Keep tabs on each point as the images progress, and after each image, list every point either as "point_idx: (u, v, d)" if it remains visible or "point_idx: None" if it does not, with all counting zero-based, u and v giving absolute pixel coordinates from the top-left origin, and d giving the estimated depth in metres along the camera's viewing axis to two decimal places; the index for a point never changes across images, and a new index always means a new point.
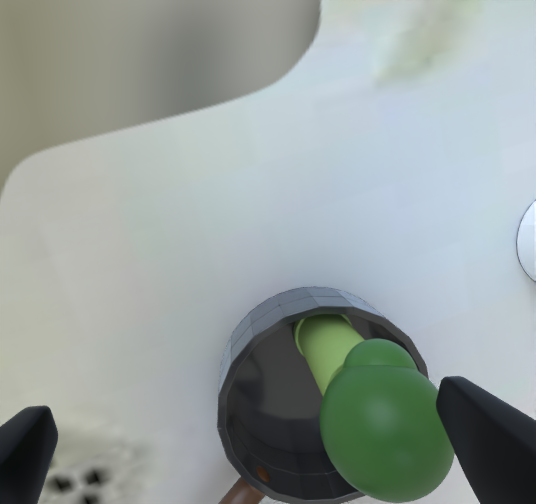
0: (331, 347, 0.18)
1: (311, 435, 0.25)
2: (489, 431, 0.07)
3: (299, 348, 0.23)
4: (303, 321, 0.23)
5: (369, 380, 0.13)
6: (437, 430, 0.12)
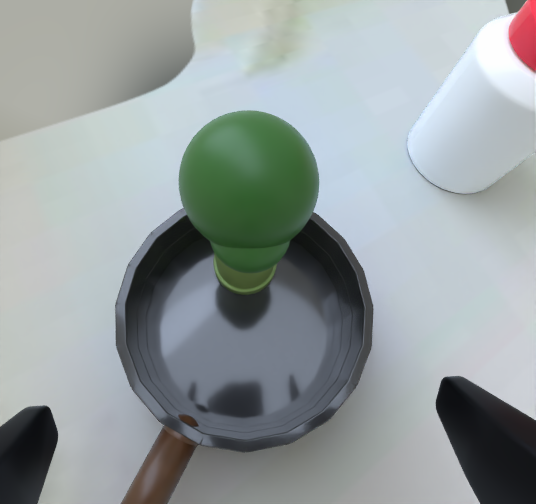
0: None
1: (262, 396, 0.20)
2: (489, 431, 0.07)
3: (221, 278, 0.21)
4: None
5: None
6: (271, 116, 0.11)
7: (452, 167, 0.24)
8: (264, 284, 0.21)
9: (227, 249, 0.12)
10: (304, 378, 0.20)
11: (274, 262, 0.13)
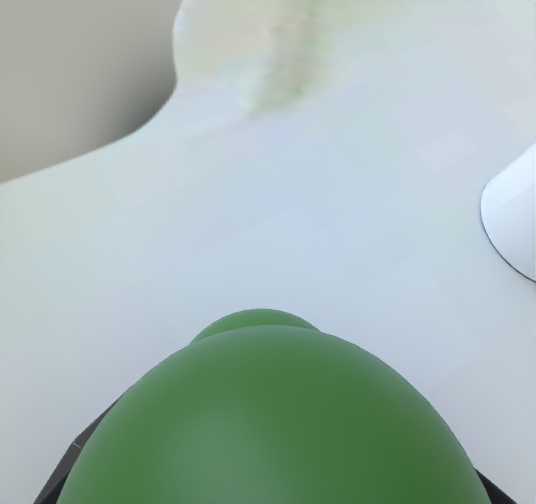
0: None
1: None
2: None
3: None
4: None
5: (165, 360, 0.04)
6: (366, 431, 0.03)
7: None
8: None
9: None
10: None
11: None
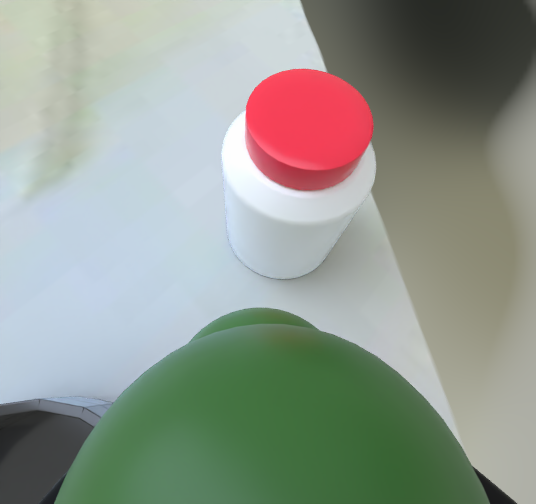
0: None
1: None
2: None
3: None
4: None
5: (163, 358, 0.04)
6: (364, 429, 0.03)
7: (267, 264, 0.21)
8: None
9: None
10: None
11: None
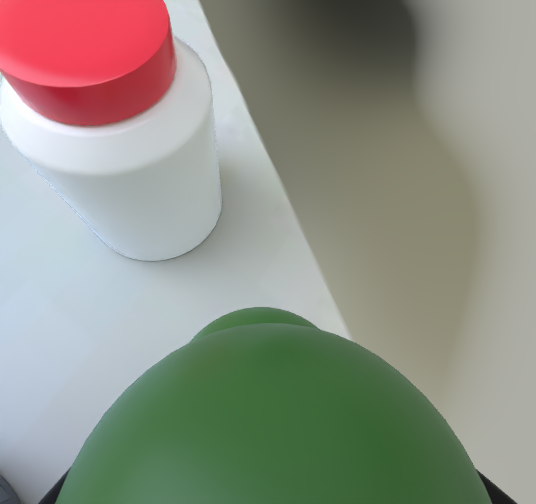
0: None
1: None
2: None
3: None
4: None
5: (165, 357, 0.04)
6: (366, 428, 0.03)
7: (125, 243, 0.17)
8: None
9: None
10: None
11: None
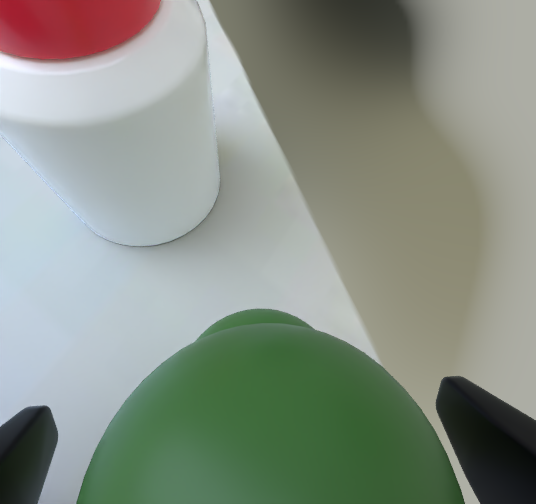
0: None
1: None
2: (489, 431, 0.07)
3: None
4: None
5: (177, 352, 0.05)
6: (346, 410, 0.04)
7: (107, 224, 0.15)
8: None
9: None
10: None
11: None
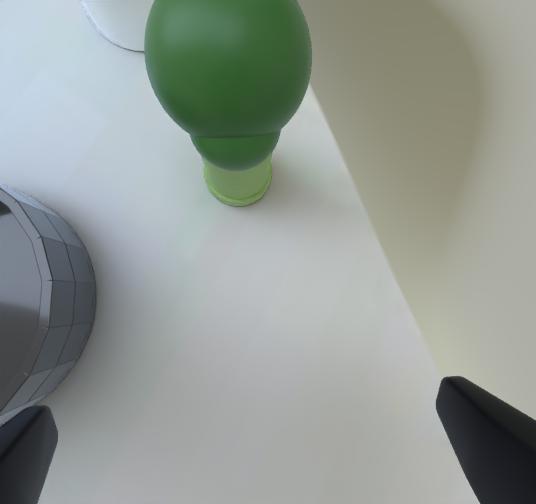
0: None
1: (19, 370, 0.18)
2: (489, 431, 0.07)
3: (213, 189, 0.20)
4: None
5: None
6: None
7: (122, 20, 0.19)
8: (259, 194, 0.20)
9: (208, 140, 0.11)
10: None
11: (263, 156, 0.11)
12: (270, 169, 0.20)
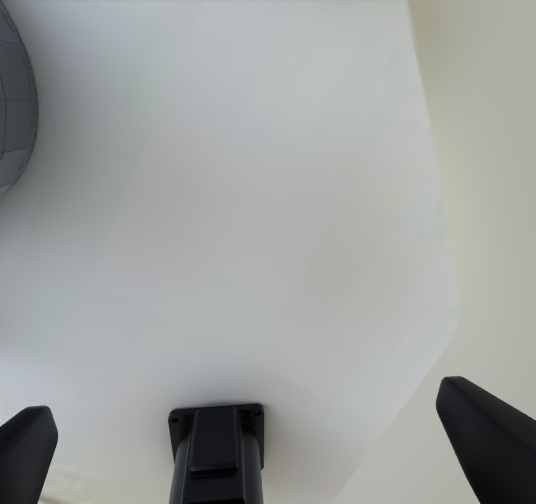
0: None
1: None
2: (489, 431, 0.07)
3: None
4: None
5: None
6: None
7: None
8: None
9: None
10: None
11: None
12: None
